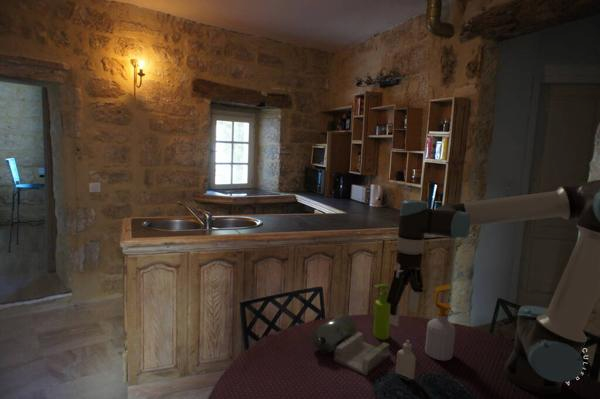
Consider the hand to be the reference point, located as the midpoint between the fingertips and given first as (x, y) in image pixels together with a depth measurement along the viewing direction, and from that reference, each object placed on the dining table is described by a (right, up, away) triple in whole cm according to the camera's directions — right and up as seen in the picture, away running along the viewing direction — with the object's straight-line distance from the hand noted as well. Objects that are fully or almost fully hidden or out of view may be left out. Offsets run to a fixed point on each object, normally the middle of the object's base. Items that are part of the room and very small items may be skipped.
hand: (403, 317), depth 115 cm
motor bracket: (-16, -16, +11) cm, 25 cm away
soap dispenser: (-2, -15, +24) cm, 29 cm away
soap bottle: (+16, -17, +13) cm, 27 cm away
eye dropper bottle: (0, -18, -1) cm, 18 cm away
